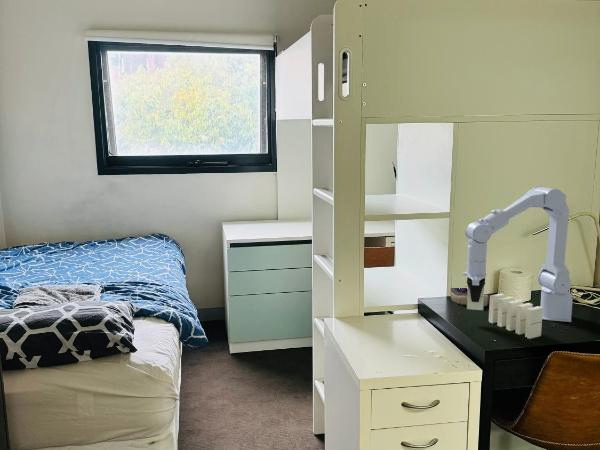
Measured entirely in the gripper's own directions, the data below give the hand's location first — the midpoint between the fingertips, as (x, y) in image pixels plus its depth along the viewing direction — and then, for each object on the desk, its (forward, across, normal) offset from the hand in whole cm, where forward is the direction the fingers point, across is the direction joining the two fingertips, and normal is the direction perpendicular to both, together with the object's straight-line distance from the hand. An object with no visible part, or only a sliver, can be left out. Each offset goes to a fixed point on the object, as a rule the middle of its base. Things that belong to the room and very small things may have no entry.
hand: (475, 300), depth 178 cm
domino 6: (+8, +7, +17) cm, 20 cm away
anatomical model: (+8, -23, -2) cm, 24 cm away
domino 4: (+8, +2, +12) cm, 14 cm away
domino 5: (+8, +4, +15) cm, 17 cm away
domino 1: (+3, 0, 0) cm, 3 cm away
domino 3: (+8, -1, +9) cm, 12 cm away
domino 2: (+8, -4, +7) cm, 11 cm away
